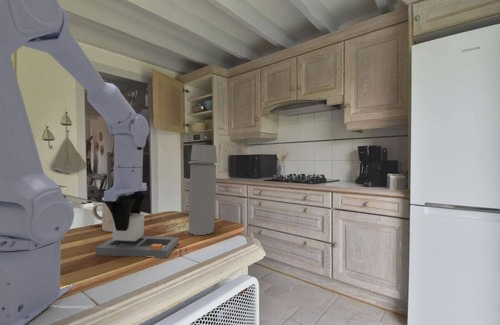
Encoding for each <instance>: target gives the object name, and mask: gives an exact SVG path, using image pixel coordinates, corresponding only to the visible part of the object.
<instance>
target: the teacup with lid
mask: <svg viewBox="0 0 500 325" xmlns="http://www.w3.org/2000/svg"><path fill="white" fill-rule="evenodd" d="M100 201H101V202H97V203H96V204H94V205H93V207H92V215H93V217H94V218H95V219H97V220H99V221H101V229H102V231H103V232H104V231H105V232H109V233H110V232H112V233H113V217H112V214H111V212H110V210H109V208H108V206H107V205H106V204H105V201H104V196H103V197H102V198H101V200H100ZM98 206H101V207H102V208H101V209H102V211H101V212H102V214H101V215H102V216H100V215H99V214H98V212H97V208H98Z"/></svg>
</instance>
